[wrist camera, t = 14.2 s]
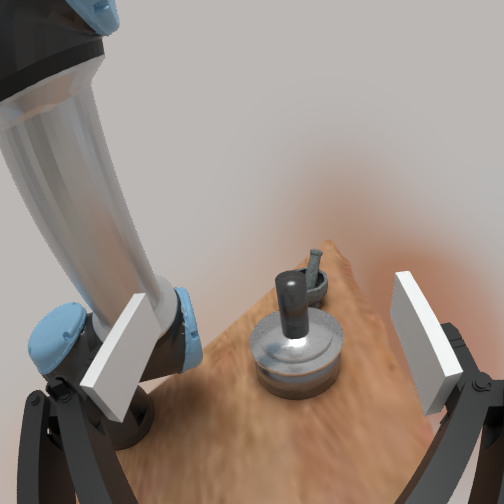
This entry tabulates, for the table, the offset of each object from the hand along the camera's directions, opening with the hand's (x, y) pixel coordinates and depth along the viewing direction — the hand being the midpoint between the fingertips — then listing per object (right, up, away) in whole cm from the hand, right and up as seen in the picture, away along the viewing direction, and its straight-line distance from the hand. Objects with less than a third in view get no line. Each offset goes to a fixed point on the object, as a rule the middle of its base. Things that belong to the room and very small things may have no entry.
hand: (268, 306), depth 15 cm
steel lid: (+6, -11, +32) cm, 35 cm away
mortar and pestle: (+12, -9, +52) cm, 54 cm away
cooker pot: (+8, -18, +36) cm, 41 cm away
